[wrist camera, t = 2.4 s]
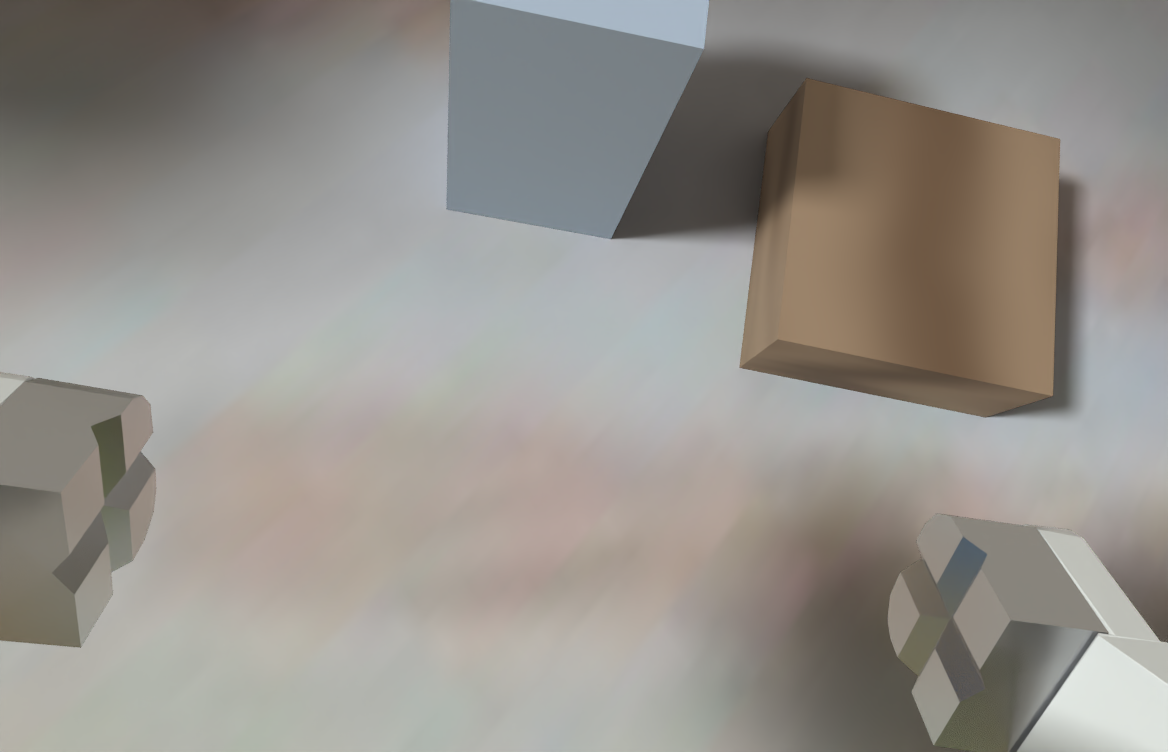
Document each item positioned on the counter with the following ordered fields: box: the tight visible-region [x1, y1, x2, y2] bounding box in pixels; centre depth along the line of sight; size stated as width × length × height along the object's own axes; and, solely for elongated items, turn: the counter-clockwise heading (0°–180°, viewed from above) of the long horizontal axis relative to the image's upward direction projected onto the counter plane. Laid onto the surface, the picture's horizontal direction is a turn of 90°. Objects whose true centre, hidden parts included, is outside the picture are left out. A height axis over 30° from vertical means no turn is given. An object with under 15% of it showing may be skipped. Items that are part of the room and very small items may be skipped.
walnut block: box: [739, 78, 1060, 417], centre depth 27 cm, size 8×8×4 cm
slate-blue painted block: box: [446, 0, 709, 239], centre depth 23 cm, size 5×5×10 cm
